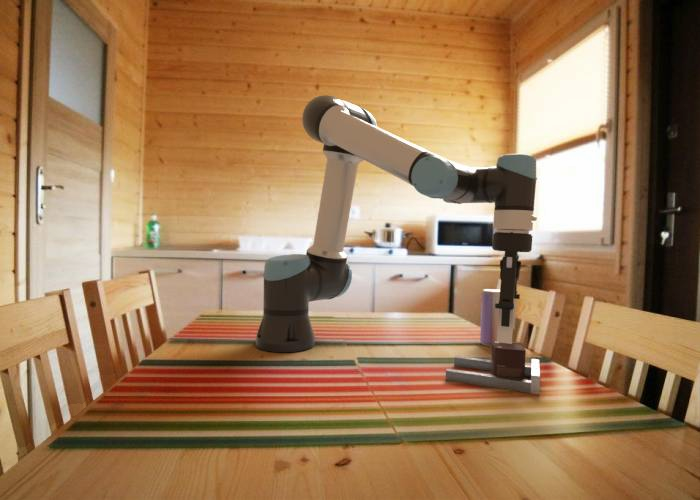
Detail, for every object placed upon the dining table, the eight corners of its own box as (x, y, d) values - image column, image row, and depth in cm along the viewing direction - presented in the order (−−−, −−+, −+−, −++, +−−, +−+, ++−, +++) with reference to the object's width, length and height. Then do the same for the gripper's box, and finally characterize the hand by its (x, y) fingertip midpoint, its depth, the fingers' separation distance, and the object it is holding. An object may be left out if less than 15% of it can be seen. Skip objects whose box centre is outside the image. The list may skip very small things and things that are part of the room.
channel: (445, 380, 86) (445, 363, 86) (455, 364, 98) (455, 349, 97) (539, 394, 80) (540, 376, 79) (538, 375, 91) (539, 359, 90)
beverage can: (479, 345, 115) (481, 290, 114) (481, 340, 120) (482, 288, 120) (502, 348, 112) (504, 292, 112) (503, 343, 118) (505, 289, 117)
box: (524, 387, 84) (526, 350, 84) (492, 383, 85) (494, 347, 85) (520, 377, 90) (521, 342, 90) (490, 374, 91) (491, 340, 91)
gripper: (532, 232, 73) (524, 353, 75) (532, 233, 96) (526, 325, 97) (487, 230, 76) (480, 346, 77) (497, 231, 99) (492, 321, 100)
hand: (506, 335), depth 87 cm, fingers open, 13 cm apart
